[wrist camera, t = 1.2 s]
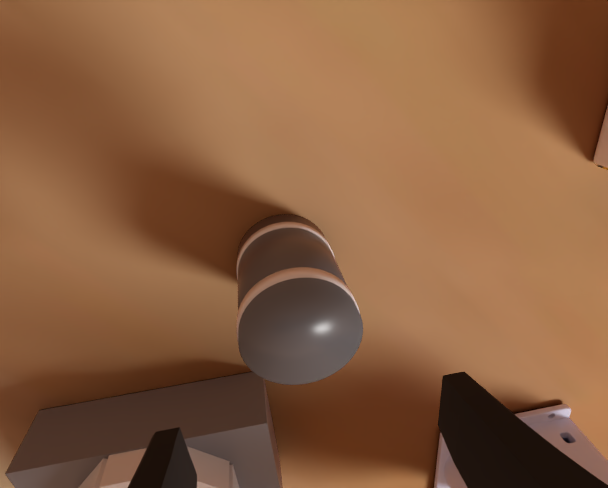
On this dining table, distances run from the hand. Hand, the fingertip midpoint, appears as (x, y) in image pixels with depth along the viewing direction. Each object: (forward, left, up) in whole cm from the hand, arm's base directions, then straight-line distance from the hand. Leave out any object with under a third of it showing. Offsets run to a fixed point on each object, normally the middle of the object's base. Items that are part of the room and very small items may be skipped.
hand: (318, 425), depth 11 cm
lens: (0, 0, -10) cm, 10 cm away
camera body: (+8, +11, -9) cm, 16 cm away
